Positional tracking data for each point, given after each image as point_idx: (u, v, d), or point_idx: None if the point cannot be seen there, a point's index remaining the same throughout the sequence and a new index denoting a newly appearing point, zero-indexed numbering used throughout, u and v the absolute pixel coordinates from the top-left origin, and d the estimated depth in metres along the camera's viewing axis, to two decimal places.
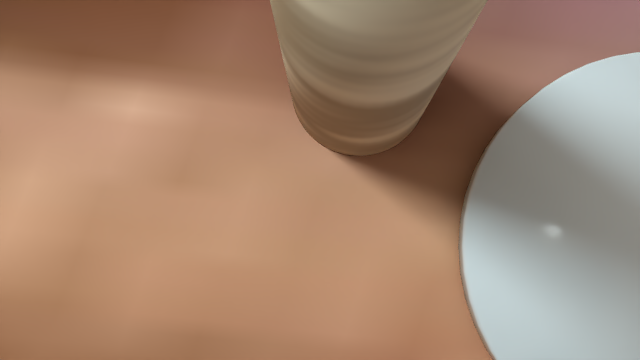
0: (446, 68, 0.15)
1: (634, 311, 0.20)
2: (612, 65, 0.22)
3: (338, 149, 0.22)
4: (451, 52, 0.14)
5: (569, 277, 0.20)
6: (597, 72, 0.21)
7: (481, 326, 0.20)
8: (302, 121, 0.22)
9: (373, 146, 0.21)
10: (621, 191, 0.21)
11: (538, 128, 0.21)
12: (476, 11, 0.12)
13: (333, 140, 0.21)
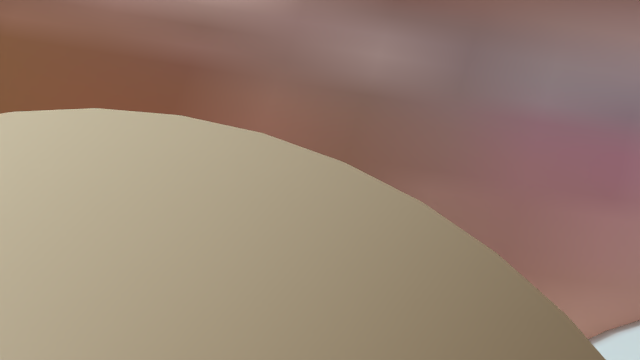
0: None
1: None
2: None
3: None
4: None
5: None
6: None
7: None
8: None
9: None
10: None
11: None
12: None
13: None
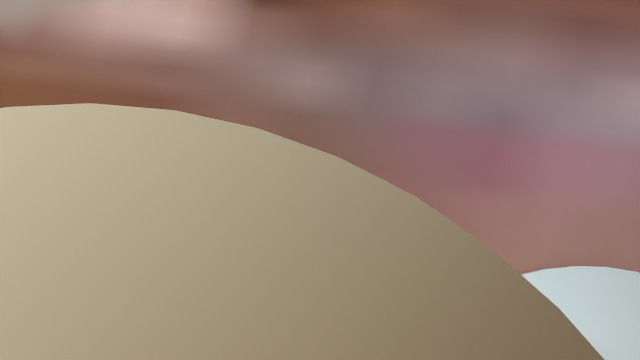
0: None
1: None
2: None
3: None
4: None
5: None
6: None
7: None
8: None
9: None
10: None
11: None
12: None
13: None
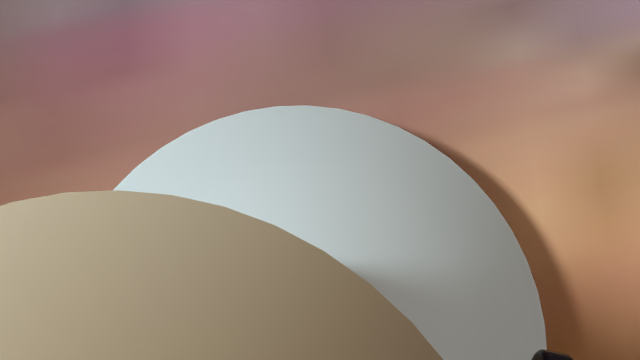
0: None
1: None
2: (163, 158, 0.18)
3: None
4: None
5: None
6: (149, 173, 0.18)
7: None
8: None
9: None
10: None
11: None
12: None
13: None
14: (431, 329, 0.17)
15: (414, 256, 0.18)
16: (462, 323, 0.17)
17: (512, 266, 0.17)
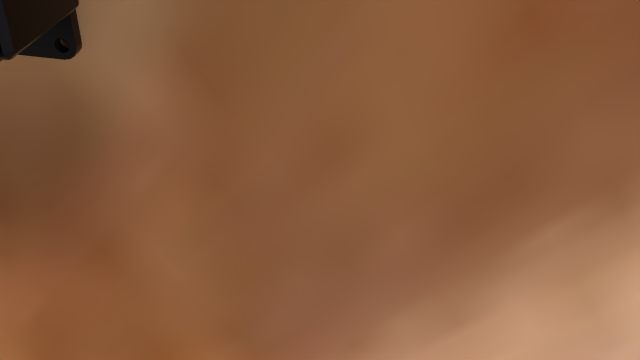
0: None
1: None
2: None
3: None
4: None
5: None
6: None
7: None
8: None
9: None
10: None
11: None
12: None
13: None
14: None
15: None
16: None
17: None
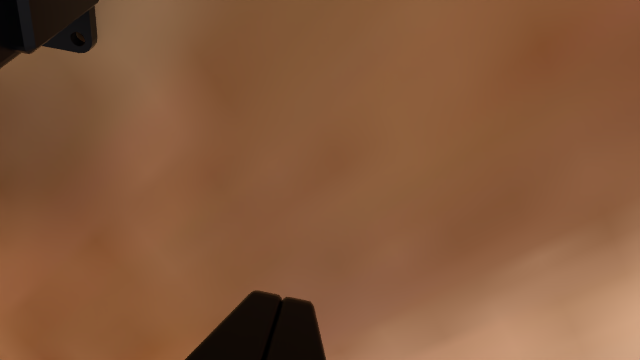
0: None
1: None
2: None
3: None
4: None
5: None
6: None
7: None
8: None
9: None
10: None
11: None
12: None
13: None
14: None
15: None
16: None
17: None
